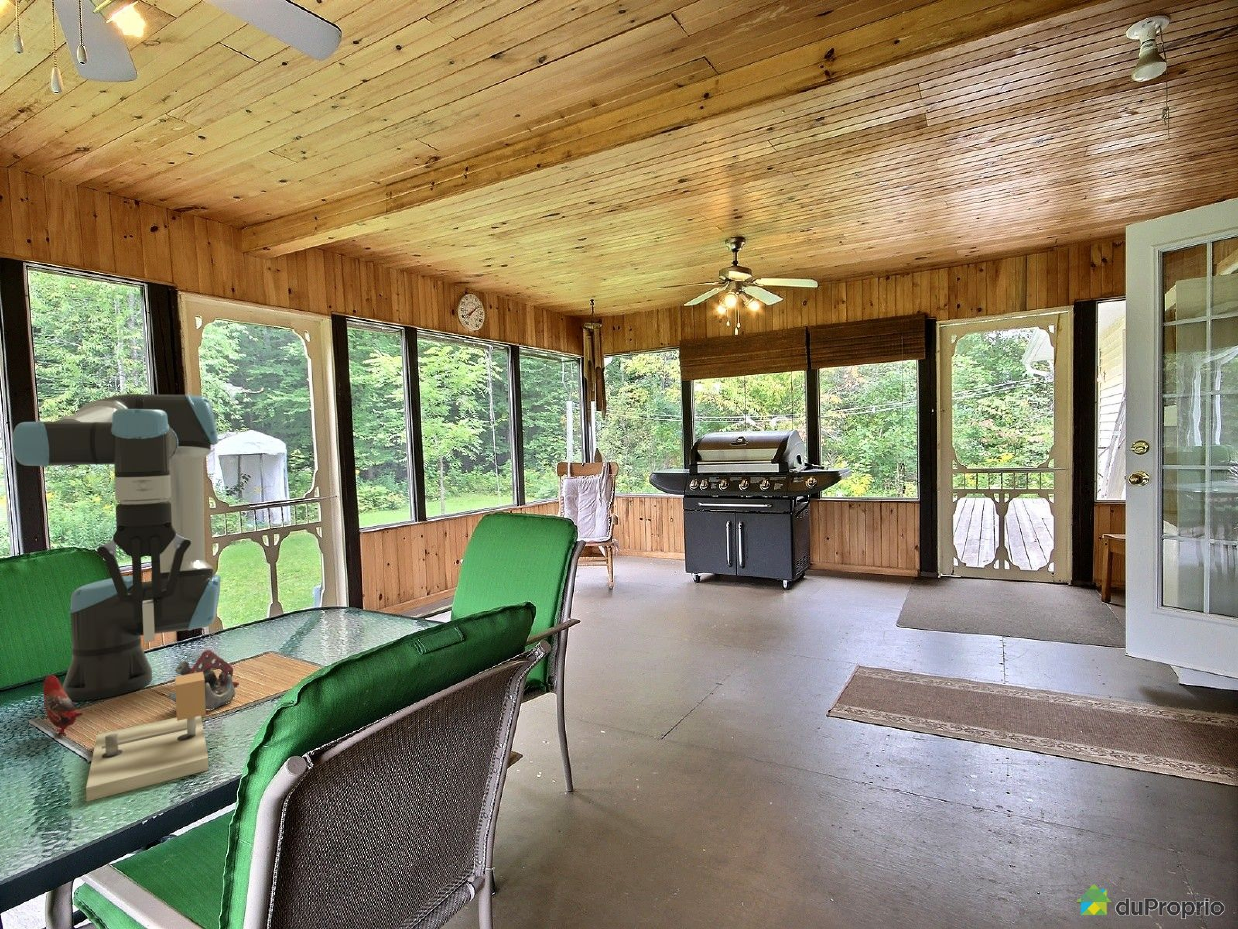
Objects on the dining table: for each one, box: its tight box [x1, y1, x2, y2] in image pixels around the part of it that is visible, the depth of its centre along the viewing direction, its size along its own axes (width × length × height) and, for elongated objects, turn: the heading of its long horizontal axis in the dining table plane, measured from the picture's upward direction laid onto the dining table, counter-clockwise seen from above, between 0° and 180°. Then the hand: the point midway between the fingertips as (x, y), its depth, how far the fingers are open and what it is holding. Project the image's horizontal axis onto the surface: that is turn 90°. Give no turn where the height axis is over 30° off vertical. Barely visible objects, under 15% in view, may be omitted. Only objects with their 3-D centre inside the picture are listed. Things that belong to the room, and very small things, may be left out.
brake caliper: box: [168, 649, 240, 709], centre depth 129 cm, size 11×11×12 cm
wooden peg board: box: [85, 716, 209, 802], centre depth 107 cm, size 22×15×5 cm
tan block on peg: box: [174, 672, 207, 735], centre depth 110 cm, size 5×4×10 cm
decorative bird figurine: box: [42, 674, 83, 736], centre depth 115 cm, size 3×18×10 cm, turn 57°
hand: (149, 639), depth 109 cm, fingers closed
